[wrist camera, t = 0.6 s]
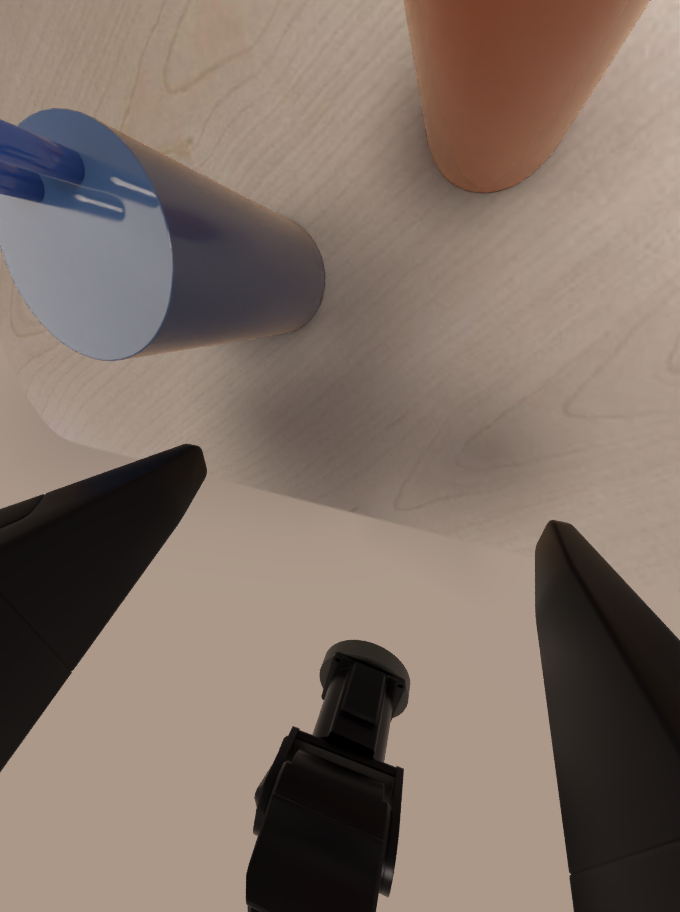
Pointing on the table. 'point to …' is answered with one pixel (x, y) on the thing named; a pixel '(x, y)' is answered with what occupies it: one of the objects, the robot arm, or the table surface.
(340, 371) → the table surface
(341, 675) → the robot arm
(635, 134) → the table surface
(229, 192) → the blue spoon jar
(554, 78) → the red spoon jar
